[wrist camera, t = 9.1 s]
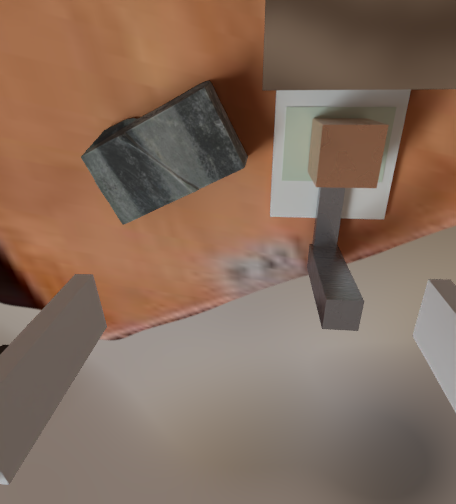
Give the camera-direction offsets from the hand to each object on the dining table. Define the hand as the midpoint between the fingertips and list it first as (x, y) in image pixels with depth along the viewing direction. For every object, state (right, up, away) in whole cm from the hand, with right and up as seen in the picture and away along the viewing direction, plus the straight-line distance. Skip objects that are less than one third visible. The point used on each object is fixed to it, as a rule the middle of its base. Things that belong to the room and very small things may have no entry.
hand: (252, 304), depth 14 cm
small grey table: (+10, +21, +16) cm, 29 cm away
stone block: (-7, +13, +22) cm, 27 cm away
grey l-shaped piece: (+10, +8, +22) cm, 25 cm away
